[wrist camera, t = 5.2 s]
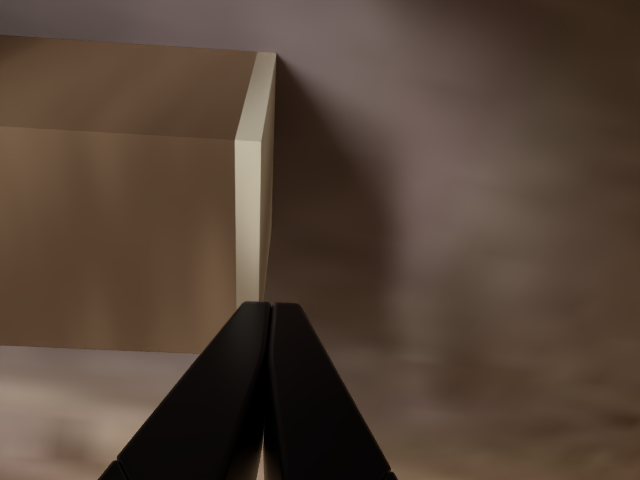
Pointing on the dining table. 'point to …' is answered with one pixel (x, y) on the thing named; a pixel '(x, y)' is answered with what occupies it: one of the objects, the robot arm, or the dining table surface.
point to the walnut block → (131, 192)
